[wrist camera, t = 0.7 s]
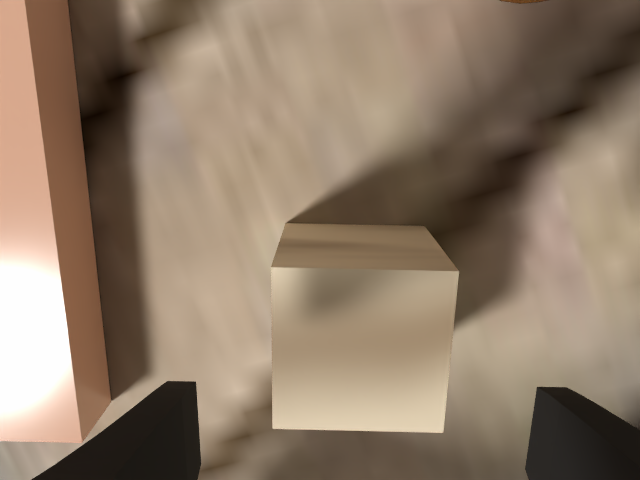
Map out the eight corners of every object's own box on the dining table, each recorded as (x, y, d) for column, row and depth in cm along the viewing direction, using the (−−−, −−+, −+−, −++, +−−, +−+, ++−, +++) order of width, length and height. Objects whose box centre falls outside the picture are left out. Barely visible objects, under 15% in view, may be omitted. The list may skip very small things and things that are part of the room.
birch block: (414, 350, 20) (443, 432, 15) (285, 347, 20) (272, 428, 15) (424, 225, 18) (459, 271, 13) (285, 222, 18) (271, 267, 13)
